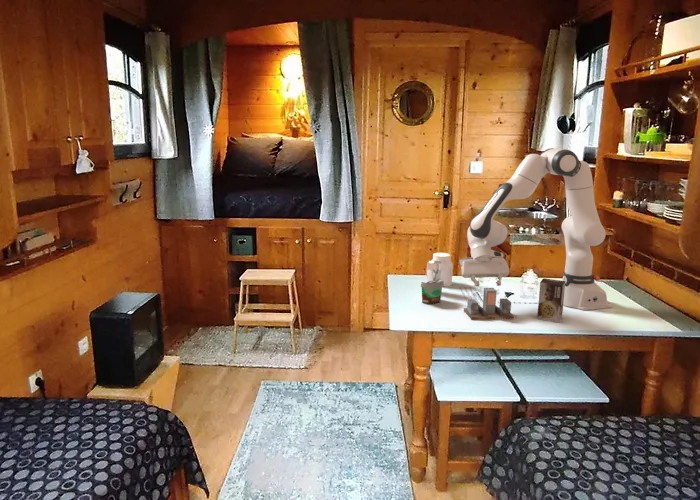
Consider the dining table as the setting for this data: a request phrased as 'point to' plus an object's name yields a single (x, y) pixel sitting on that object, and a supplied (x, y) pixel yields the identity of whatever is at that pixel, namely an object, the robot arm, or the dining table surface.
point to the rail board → (480, 314)
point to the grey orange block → (489, 300)
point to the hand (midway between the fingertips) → (488, 285)
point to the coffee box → (551, 300)
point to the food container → (432, 291)
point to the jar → (445, 267)
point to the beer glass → (434, 270)
